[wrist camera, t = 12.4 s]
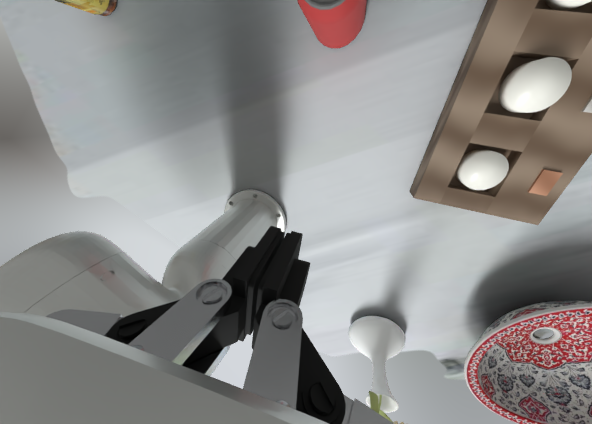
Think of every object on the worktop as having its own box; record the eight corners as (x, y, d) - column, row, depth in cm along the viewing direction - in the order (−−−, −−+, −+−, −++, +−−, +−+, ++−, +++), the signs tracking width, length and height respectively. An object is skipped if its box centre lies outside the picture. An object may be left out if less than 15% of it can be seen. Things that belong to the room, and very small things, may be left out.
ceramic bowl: (447, 376, 49) (463, 421, 42) (446, 270, 39) (466, 306, 32) (635, 392, 40) (695, 453, 33) (698, 258, 30) (805, 305, 23)
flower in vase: (406, 348, 49) (448, 547, 27) (353, 346, 52) (351, 519, 30) (400, 303, 44) (445, 499, 22) (342, 304, 48) (332, 472, 26)
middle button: (537, 115, 25) (550, 116, 24) (489, 108, 26) (499, 108, 24) (567, 64, 23) (584, 60, 21) (514, 58, 24) (527, 54, 22)
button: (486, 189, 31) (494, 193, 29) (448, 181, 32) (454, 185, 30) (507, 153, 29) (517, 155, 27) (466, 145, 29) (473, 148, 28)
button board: (523, 215, 32) (539, 225, 29) (409, 191, 35) (414, 198, 32) (737, -93, 19) (806, -129, 16) (527, -98, 21) (554, -130, 18)
